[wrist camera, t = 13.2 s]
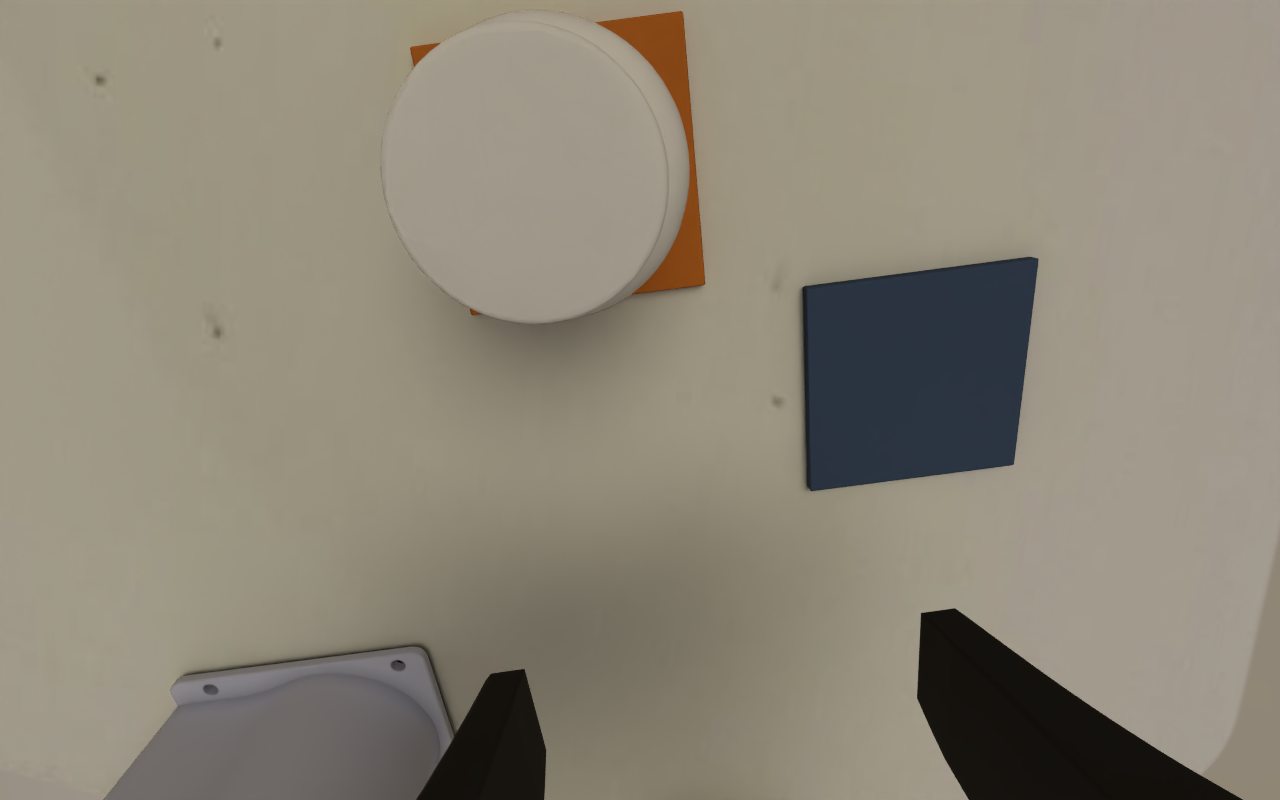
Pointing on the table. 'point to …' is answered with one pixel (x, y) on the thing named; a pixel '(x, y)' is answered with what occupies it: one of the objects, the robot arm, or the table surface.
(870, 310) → the blue mat
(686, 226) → the amber mat
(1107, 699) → the table surface
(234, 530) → the table surface
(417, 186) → the pill bottle
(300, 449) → the table surface
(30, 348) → the table surface
